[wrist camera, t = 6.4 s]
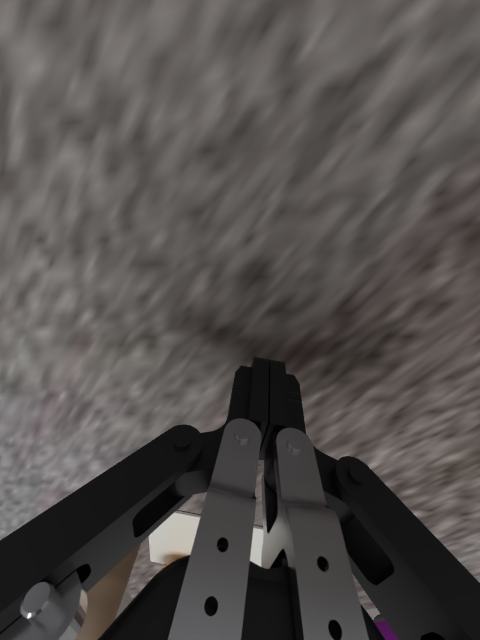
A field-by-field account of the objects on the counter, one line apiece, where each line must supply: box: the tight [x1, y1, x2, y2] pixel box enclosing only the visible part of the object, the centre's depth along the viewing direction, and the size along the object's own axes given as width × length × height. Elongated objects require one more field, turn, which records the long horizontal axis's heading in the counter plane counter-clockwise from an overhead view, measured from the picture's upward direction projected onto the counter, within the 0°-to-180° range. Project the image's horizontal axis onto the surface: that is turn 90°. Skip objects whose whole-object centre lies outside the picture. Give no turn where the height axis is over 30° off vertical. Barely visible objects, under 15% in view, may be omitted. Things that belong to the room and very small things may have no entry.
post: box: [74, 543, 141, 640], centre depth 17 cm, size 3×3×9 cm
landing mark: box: [149, 511, 263, 566], centre depth 28 cm, size 14×14×1 cm
